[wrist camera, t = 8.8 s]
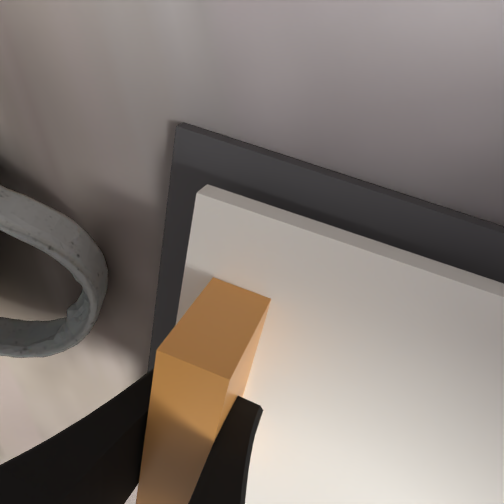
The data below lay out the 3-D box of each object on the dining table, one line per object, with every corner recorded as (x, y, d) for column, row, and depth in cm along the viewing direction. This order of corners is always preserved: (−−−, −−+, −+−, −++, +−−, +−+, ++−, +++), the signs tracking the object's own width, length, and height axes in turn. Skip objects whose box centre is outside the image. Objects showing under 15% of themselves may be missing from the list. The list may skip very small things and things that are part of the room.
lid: (885, 397, 9) (1181, 639, 5) (582, 616, 14) (635, 809, 10) (217, 176, 11) (128, 247, 8) (170, 433, 16) (105, 545, 13)
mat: (1011, 392, 8) (1035, 408, 8) (608, 639, 15) (612, 653, 14) (184, 122, 12) (176, 126, 11) (146, 420, 18) (141, 428, 17)
